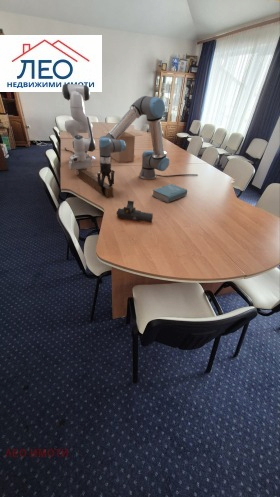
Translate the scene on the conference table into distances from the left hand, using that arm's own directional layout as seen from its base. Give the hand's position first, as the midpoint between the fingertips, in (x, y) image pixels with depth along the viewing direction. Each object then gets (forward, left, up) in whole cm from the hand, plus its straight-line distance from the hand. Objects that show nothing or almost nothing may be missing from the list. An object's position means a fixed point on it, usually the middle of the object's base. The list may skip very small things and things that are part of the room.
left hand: (81, 173), depth 194 cm
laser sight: (+81, +32, -3) cm, 87 cm away
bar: (+20, +9, -3) cm, 22 cm away
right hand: (+40, +18, -2) cm, 44 cm away
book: (+46, +67, -3) cm, 81 cm away
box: (-60, +44, -3) cm, 75 cm away
